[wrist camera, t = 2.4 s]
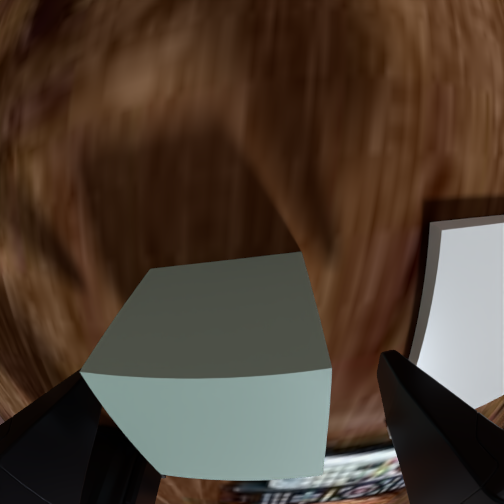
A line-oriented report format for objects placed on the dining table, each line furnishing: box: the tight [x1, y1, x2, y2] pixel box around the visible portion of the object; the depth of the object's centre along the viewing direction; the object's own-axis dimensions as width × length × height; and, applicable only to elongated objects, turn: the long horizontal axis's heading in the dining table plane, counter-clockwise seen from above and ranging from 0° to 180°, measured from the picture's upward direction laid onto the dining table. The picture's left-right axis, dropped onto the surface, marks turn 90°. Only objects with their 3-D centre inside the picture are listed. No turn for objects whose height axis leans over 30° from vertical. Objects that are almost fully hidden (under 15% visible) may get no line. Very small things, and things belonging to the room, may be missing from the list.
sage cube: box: [80, 252, 332, 480], centre depth 8 cm, size 5×5×5 cm
